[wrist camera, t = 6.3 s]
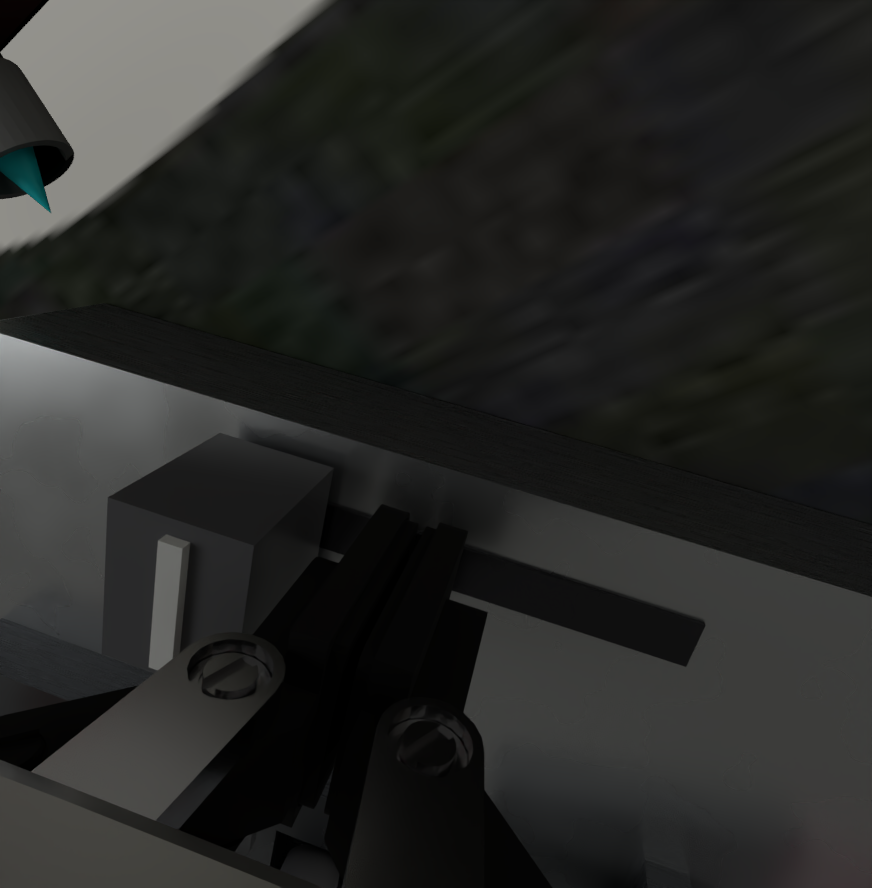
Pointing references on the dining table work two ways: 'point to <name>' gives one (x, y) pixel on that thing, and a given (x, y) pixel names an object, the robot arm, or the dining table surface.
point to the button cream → (311, 865)
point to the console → (490, 600)
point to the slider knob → (207, 546)
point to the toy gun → (26, 120)
